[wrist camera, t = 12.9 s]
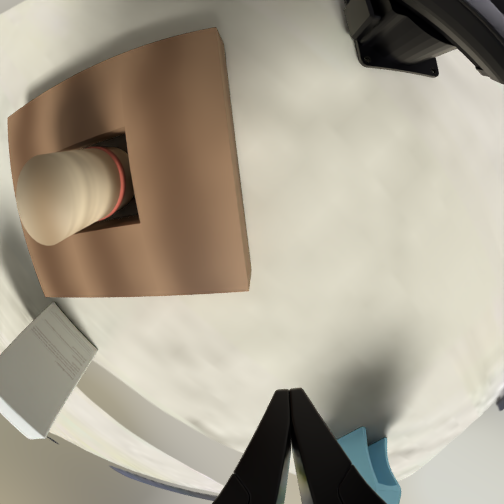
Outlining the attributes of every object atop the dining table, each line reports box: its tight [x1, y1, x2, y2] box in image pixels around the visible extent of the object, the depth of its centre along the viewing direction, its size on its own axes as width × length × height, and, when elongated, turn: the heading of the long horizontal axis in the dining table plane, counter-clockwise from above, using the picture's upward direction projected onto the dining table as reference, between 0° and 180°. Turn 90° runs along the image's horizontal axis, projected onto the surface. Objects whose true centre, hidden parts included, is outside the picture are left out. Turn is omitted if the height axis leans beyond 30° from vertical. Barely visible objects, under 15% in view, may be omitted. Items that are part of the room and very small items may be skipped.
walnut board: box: [8, 27, 251, 297], centre depth 16 cm, size 18×16×3 cm
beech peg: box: [16, 146, 134, 246], centre depth 14 cm, size 5×5×8 cm
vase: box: [337, 426, 401, 504], centre depth 20 cm, size 8×8×20 cm
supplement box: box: [0, 302, 98, 439], centre depth 18 cm, size 7×7×13 cm
